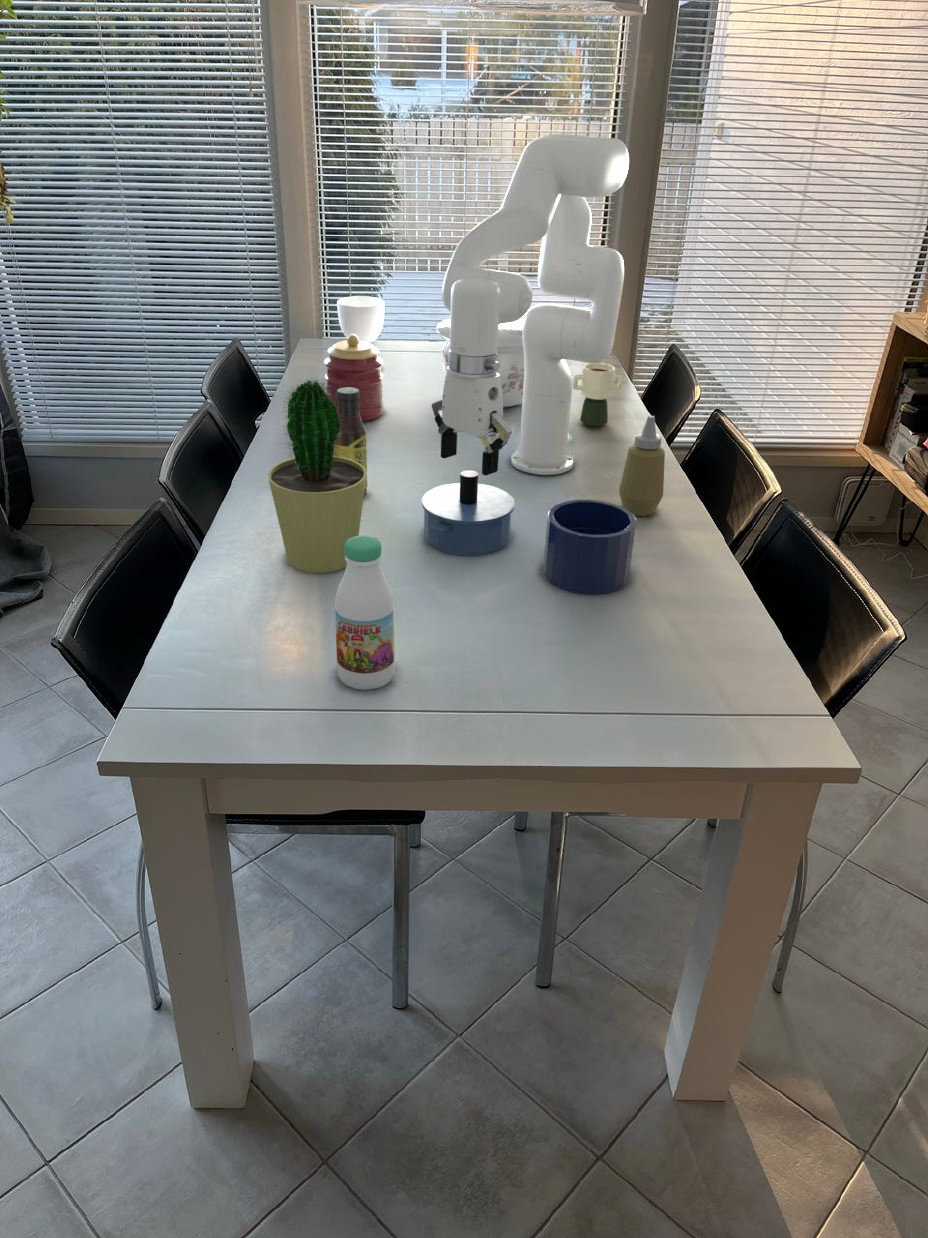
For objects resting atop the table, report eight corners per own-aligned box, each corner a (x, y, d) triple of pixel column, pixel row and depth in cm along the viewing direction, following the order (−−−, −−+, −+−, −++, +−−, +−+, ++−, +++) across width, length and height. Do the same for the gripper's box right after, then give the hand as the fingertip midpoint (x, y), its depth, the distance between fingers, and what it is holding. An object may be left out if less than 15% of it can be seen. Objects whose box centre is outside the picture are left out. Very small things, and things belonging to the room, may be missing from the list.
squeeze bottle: (663, 505, 181) (677, 412, 171) (656, 522, 174) (670, 427, 165) (621, 498, 183) (632, 406, 173) (612, 515, 176) (624, 420, 167)
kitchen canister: (394, 416, 218) (393, 338, 209) (343, 426, 212) (340, 345, 202) (366, 400, 227) (364, 324, 218) (316, 409, 221) (312, 331, 211)
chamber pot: (462, 424, 215) (465, 330, 204) (417, 387, 236) (418, 300, 225) (572, 411, 225) (580, 320, 214) (520, 376, 246) (525, 293, 235)
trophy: (613, 418, 221) (619, 362, 214) (620, 429, 215) (627, 371, 208) (566, 418, 220) (571, 362, 213) (572, 429, 214) (577, 371, 207)
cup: (339, 362, 252) (337, 295, 243) (384, 362, 253) (383, 295, 244) (339, 376, 242) (336, 306, 233) (386, 376, 243) (385, 307, 234)
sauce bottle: (362, 503, 178) (359, 397, 167) (329, 499, 179) (324, 394, 168) (372, 489, 183) (369, 386, 173) (340, 485, 184) (336, 383, 174)
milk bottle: (338, 659, 133) (332, 528, 123) (394, 658, 134) (393, 528, 123) (336, 692, 127) (330, 557, 116) (395, 690, 127) (394, 556, 117)
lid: (403, 512, 162) (403, 478, 159) (452, 481, 174) (453, 449, 170) (485, 536, 155) (487, 500, 152) (530, 502, 167) (532, 468, 164)
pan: (399, 547, 163) (399, 514, 160) (460, 506, 178) (461, 475, 175) (474, 569, 157) (476, 536, 154) (530, 525, 172) (533, 494, 168)
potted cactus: (372, 576, 154) (368, 392, 138) (274, 581, 151) (259, 395, 136) (365, 533, 167) (360, 361, 151) (274, 538, 164) (260, 363, 149)
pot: (565, 546, 165) (570, 492, 160) (641, 567, 159) (649, 512, 154) (528, 579, 155) (532, 522, 149) (608, 603, 149) (615, 545, 144)
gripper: (529, 370, 148) (522, 474, 157) (451, 346, 159) (449, 445, 168) (495, 379, 144) (490, 486, 153) (418, 354, 154) (417, 455, 163)
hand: (468, 464), depth 160 cm, fingers open, 9 cm apart
